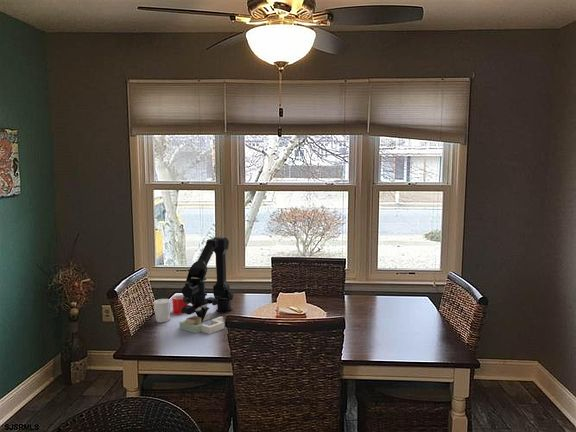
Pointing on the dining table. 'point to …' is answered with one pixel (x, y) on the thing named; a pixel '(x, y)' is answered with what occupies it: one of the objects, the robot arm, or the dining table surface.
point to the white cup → (162, 310)
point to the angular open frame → (215, 325)
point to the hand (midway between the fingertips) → (201, 322)
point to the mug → (178, 304)
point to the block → (193, 320)
